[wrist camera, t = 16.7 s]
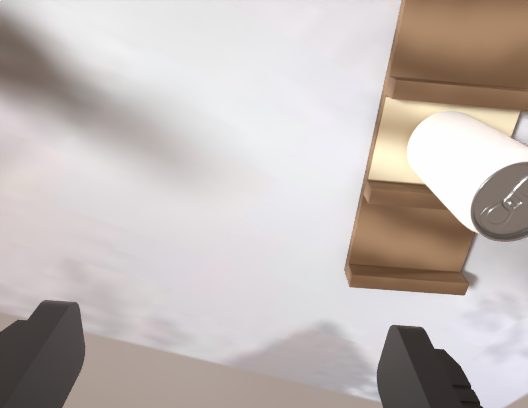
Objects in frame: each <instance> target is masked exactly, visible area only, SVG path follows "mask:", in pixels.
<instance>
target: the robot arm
mask: <svg viewBox="0 0 528 408" xmlns="http://www.w3.org/2000/svg"><path fill="white" fill-rule="evenodd" d="M84 356H85V342H84V335H83V328H82V322H81V315H80V309H79V305H78V304H77V303H76V302H66V301H52V300H44V301H43V302H41V303H40V304H39V306H38V307H37V308H36V310H35V311H34V312H33V314H32V315H31V316H30V318H29V319H28V320H17V321H15V322H14V323H13V324H11V325H10V326H8V327H7V328H6V329H4V330H3V331H1V332H0V408H62V407H63V405H64V403H65V401H66V399H67V397H68V395H69V393H70V391H71V389H72V387H73V385H74V383H75V381H76V379H77V377H78V375H79V373H80V371H81V368H82V365H83V362H84ZM377 385H378V391H379V395H380V398H381V402H382V405H383V408H483V407H482V406H480V401H479V399H478V397H477V396H476V394H475V392H474V390H472V389H471V385H470V383H469V381H468V379H467V377H466V375H465V374H464V372H463V370H462V368H461V366H460V365H459V364H458V363H457V362H456V361H455V360H454V359H453V358H452V357H451V356H450V355H449V354H448V353H447V352H446V351H445V350H444V349H434V347H433V345H432V343H431V341H430V339H429V337H428V335H427V333H426V331H425V330H424V329H423V328H422V327H415V326H400V325H392V326H391V327H390V328H389V331H388V334H387V337H386V341H385V344H384V348H383V351H382V354H381V358H380V361H379V364H378V369H377Z"/></svg>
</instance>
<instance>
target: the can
mask: <svg viewBox="0 0 528 408" xmlns="http://www.w3.org/2000/svg"><path fill="white" fill-rule="evenodd" d="M407 158H408V161H409V164H410V166H411V168H412V169H413V171H414V172H415V173H416V174H417V175H418V176H419V177H420V179H421V180H422V181H423V182H424V183H425V184H426V185H427V186H428V187H429V189H430V190H431V191H432V192H433V193H434V194H435V195H436V196H437V197H438V198H439V200H440V201H441V202H442V203H443V204H444V205H445V206H446V207H447V208H448V209H449V210H450V211H451V213H452V214H453V215H454V216H455V217H456V218H457V219H458V220H459V221H460V222H461V223H462V224H463V225H464V226H466V227H467V228H468V229H470V230H472V231H474V232H476V233H479V234H481V235H483V236H484V237H486V238H488V239H491V240H494V241H501V242H509V241H516V240H520V239H523V238H526V237H528V147H527V146H525V145H523V144H522V143H520V142H518V141H516V140H514V139H512V138H510V137H509V136H507V135H505V134H503V133H501V132H499V131H497V130H495V129H494V128H492V127H490V126H488V125H486V124H484V123H482V122H480V121H478V120H477V119H475V118H473V117H471V116H469V115H467V114H464V113H462V112H458V111H443V112H439V113H436V114H434V115H432V116H430V117H428V118H426V119H425V120H424V121H422V122H421V123H420V124H419V125H418V126H417V127H416V129H415V130H414V131H413V133H412V135H411V137H410V139H409V142H408V146H407Z"/></svg>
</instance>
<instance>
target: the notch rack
mask: <svg viewBox="0 0 528 408" xmlns="http://www.w3.org/2000/svg"><path fill="white" fill-rule="evenodd" d="M443 111H458V112H462V113H464V114H467V115H469V116H471V117H473V118H475V119H477V120H478V121H480V122H482V123H484V124H486V125H488V126H490V127H492V128H494V129H495V130H497V131H499V132H501V133H503V134H505V135H507V136H509V137H510V138H511V135H512V133H513V130H514V127H515V125H516V122H517V119H518V116H519V114H520V111H528V0H402V2H401V7H400V12H399V16H398V21H397V26H396V30H395V35H394V40H393V44H392V49H391V54H390V58H389V63H388V68H387V72H386V77H385V82H384V86H383V91H382V96H381V100H380V105H379V110H378V115H377V119H376V124H375V129H374V133H373V138H372V143H371V147H370V152H369V157H368V161H367V166H366V171H365V175H364V180H363V185H362V189H361V194H360V199H359V203H358V208H357V213H356V218H355V222H354V227H353V232H352V236H351V241H350V246H349V250H348V255H347V260H346V264H345V269H344V270H345V274H346V277H347V280H348V284H349V287H355V288H369V289H383V290H397V291H410V292H424V293H438V294H452V295H465V293H466V291H467V288H468V286H469V283H468V281H467V280H466V279H465V277H464V276H463V275H462V273H461V270H462V267H463V264H464V261H465V259H466V256H467V253H468V251H469V248H470V245H471V243H472V240H473V237H474V234H475V232H474V231H472V230H470V229H468V228H467V227H466V226H464V225H463V224H462V223H461V222H460V221H459V220H458V219H457V218H456V217H455V216H454V215H453V214H452V213H451V211H450V210H449V209H448V208H447V207H446V206H445V205H444V204H443V203H442V202H441V201H440V200H439V198H438V197H437V196H436V195H435V194H434V193H433V192H432V191H431V190H430V189H429V187H428V186H427V185H426V184H425V183H424V182H423V181H422V180H421V179H420V177H419V176H418V175H417V174H416V173H415V172H414V171H413V169H412V168H411V166H410V164H409V161H408V158H407V146H408V142H409V139H410V137H411V135H412V133H413V131H414V130H415V129H416V127H417V126H418V125H419V124H420V123H421V122H422V121H424V120H425V119H426V118H428V117H430V116H432V115H434V114H436V113H439V112H443Z"/></svg>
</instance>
